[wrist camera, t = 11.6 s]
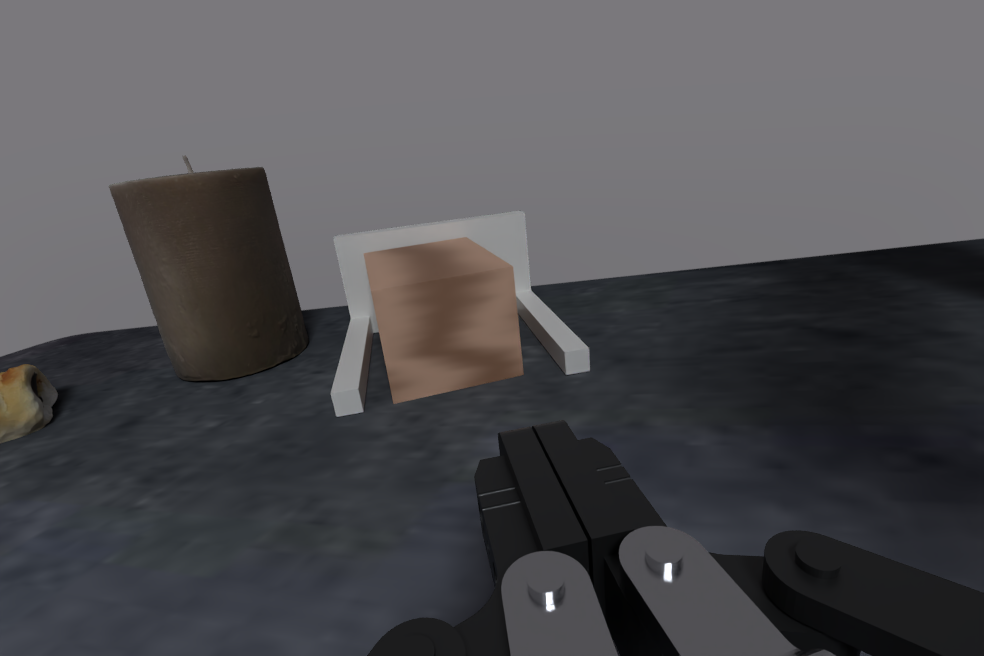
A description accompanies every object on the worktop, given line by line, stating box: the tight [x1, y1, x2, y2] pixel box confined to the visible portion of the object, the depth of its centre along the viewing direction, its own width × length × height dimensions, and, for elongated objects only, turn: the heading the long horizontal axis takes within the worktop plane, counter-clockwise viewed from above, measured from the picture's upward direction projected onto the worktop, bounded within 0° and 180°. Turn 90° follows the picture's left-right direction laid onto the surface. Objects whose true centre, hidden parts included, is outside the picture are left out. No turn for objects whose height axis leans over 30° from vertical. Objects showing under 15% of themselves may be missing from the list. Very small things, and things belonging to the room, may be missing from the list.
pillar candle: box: [109, 156, 309, 381], centre depth 37 cm, size 10×10×15 cm
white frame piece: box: [331, 211, 590, 417], centre depth 35 cm, size 15×15×8 cm
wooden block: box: [363, 237, 524, 404], centre depth 34 cm, size 8×12×7 cm, turn 16°
